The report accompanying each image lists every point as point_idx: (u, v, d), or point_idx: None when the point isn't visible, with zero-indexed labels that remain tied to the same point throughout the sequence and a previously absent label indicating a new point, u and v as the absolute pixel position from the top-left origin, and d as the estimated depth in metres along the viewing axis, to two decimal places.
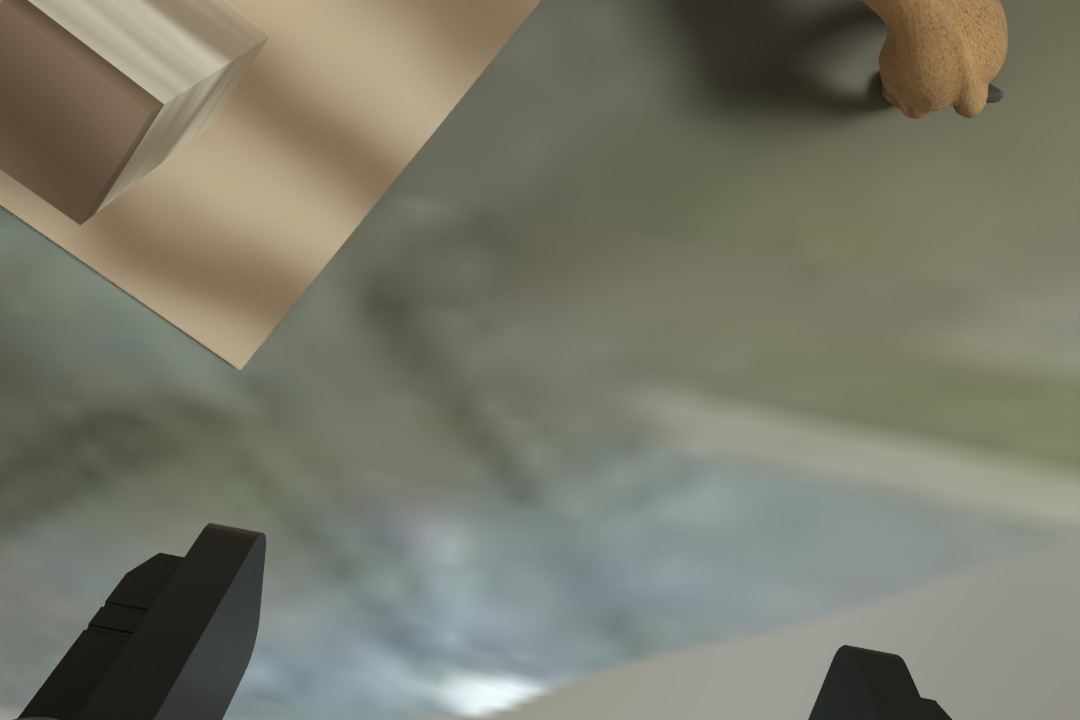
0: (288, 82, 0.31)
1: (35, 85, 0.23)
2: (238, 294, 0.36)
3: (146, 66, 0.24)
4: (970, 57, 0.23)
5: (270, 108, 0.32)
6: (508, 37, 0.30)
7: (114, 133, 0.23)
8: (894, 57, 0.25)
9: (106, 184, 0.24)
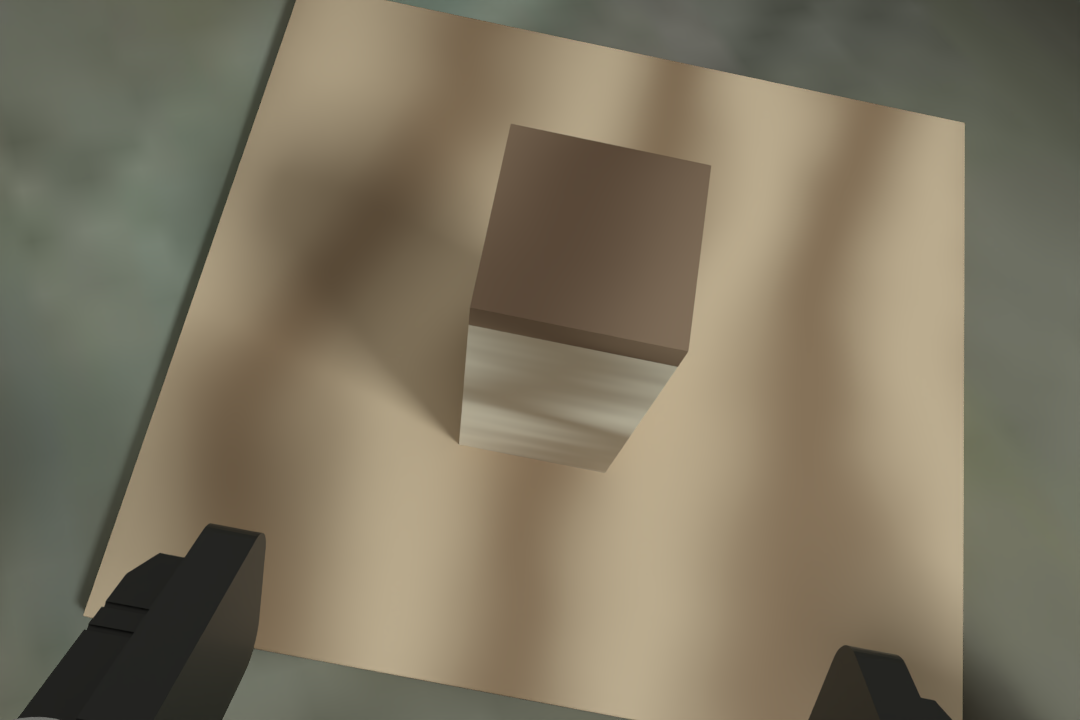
0: (565, 513, 0.25)
1: (634, 216, 0.18)
2: None
3: None
4: None
5: (521, 504, 0.25)
6: None
7: (633, 316, 0.17)
8: None
9: (551, 325, 0.17)
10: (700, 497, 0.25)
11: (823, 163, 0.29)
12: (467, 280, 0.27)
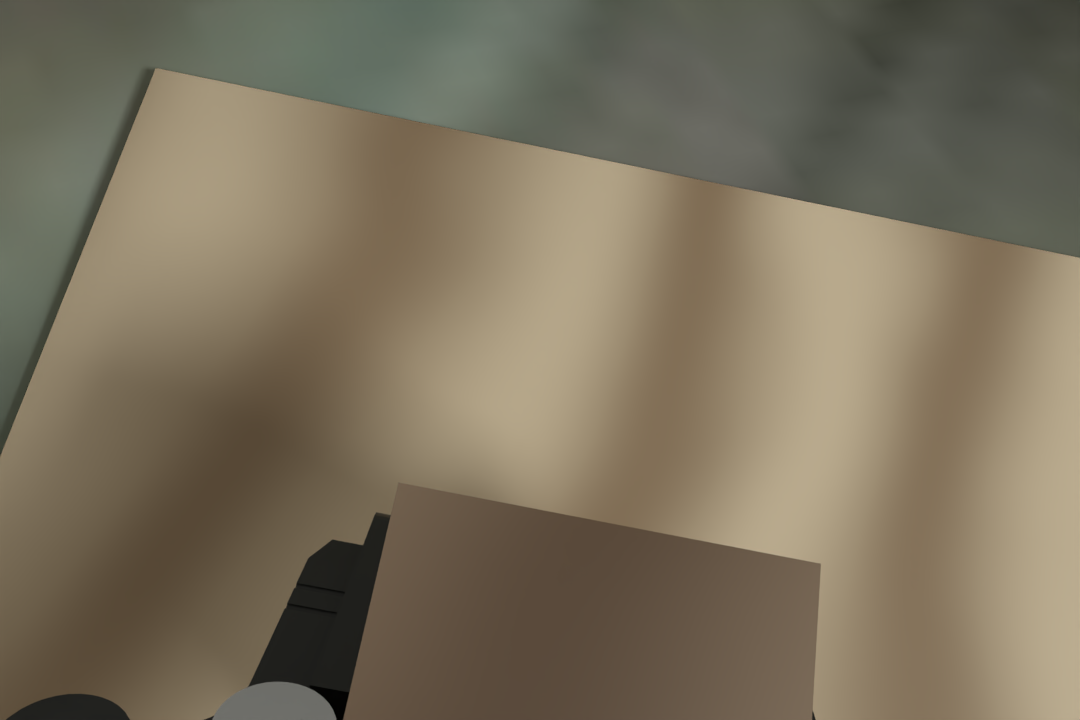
0: None
1: (662, 704, 0.08)
2: None
3: None
4: None
5: None
6: None
7: None
8: None
9: None
10: None
11: (924, 335, 0.20)
12: None
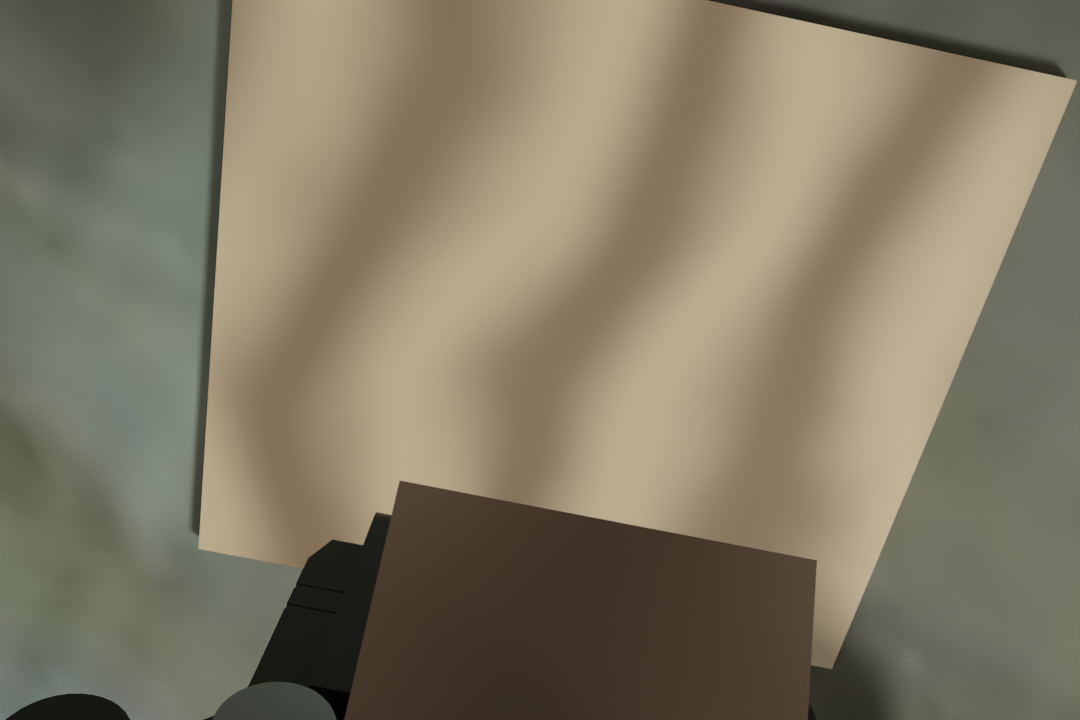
0: (550, 494, 0.30)
1: (660, 698, 0.08)
2: (289, 520, 0.31)
3: None
4: None
5: (514, 486, 0.30)
6: None
7: None
8: None
9: None
10: (666, 485, 0.30)
11: (871, 146, 0.25)
12: (462, 294, 0.27)
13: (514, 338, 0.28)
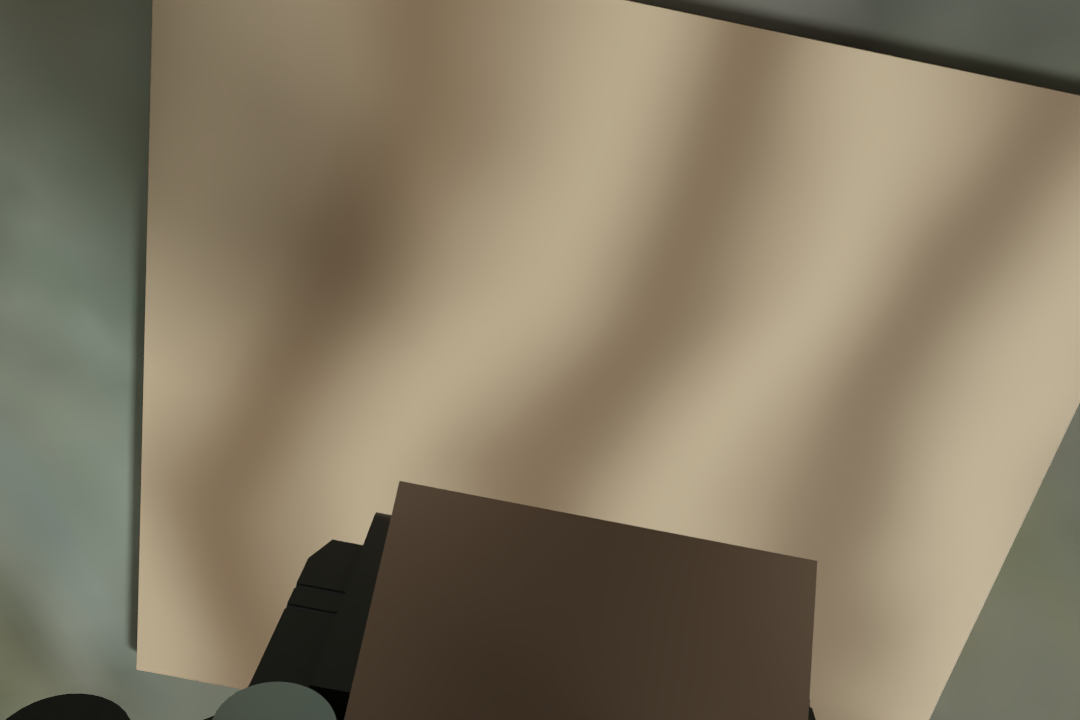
0: None
1: (660, 699, 0.08)
2: (242, 638, 0.26)
3: None
4: None
5: None
6: None
7: None
8: None
9: None
10: None
11: (948, 204, 0.20)
12: (443, 381, 0.23)
13: (507, 432, 0.23)
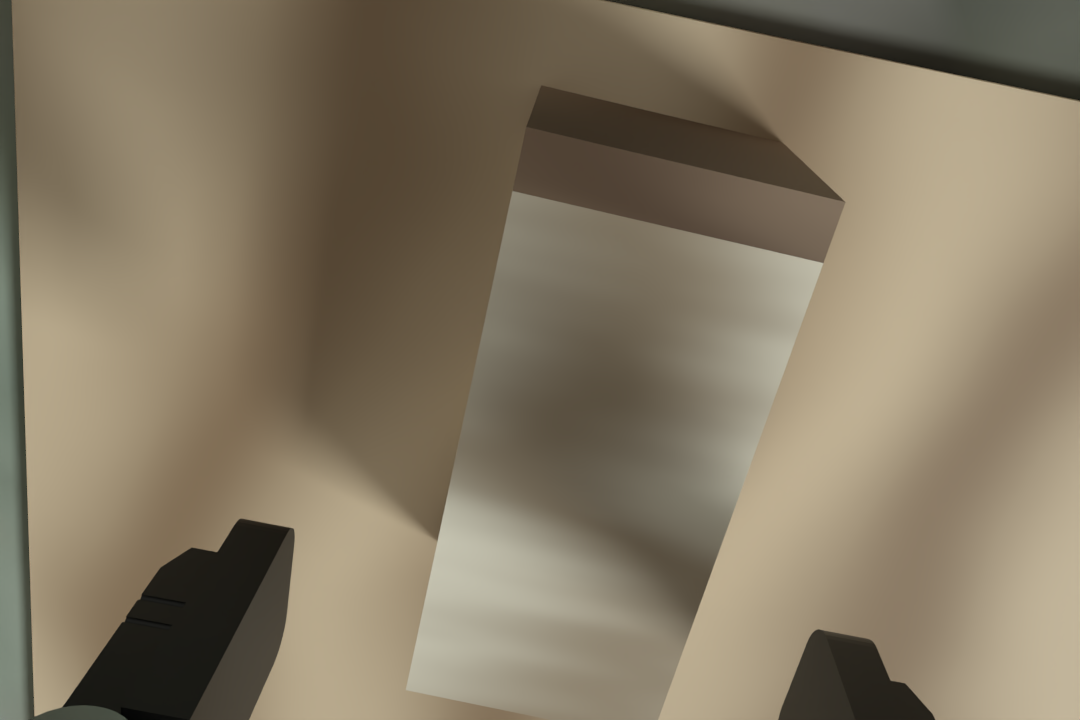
0: None
1: (714, 140, 0.14)
2: None
3: None
4: None
5: None
6: None
7: (754, 173, 0.12)
8: None
9: (644, 161, 0.11)
10: None
11: (1046, 270, 0.16)
12: (401, 482, 0.18)
13: None
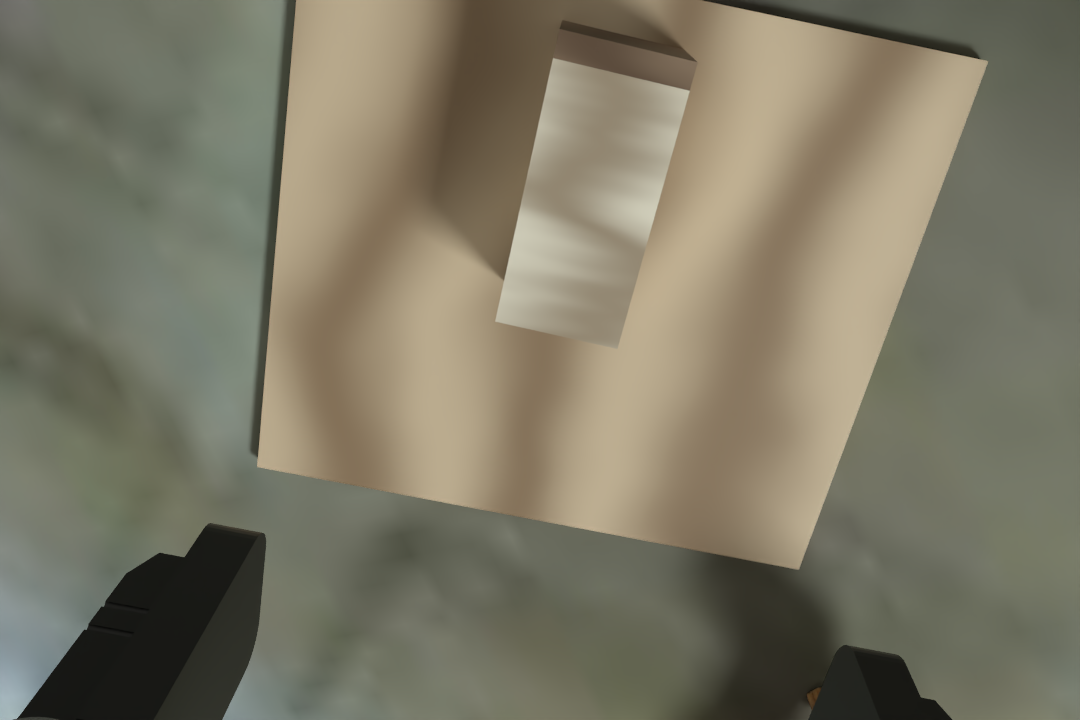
0: (557, 416, 0.35)
1: (646, 43, 0.29)
2: (335, 440, 0.36)
3: None
4: None
5: (526, 409, 0.35)
6: (682, 546, 0.37)
7: (659, 51, 0.27)
8: None
9: (610, 44, 0.26)
10: (655, 407, 0.35)
11: (821, 116, 0.31)
12: (484, 243, 0.33)
13: None
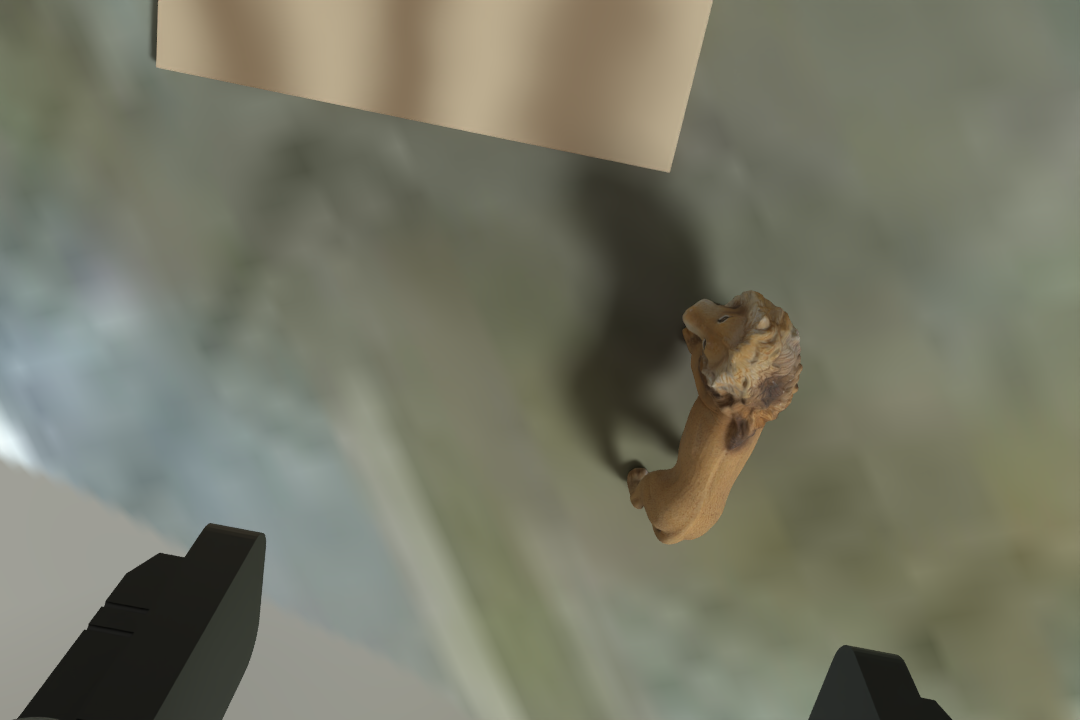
0: (434, 3, 0.38)
1: None
2: (228, 36, 0.38)
3: None
4: (691, 526, 0.39)
5: None
6: (559, 148, 0.40)
7: None
8: (666, 488, 0.40)
9: None
10: None
11: None
12: None
13: None
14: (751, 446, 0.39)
